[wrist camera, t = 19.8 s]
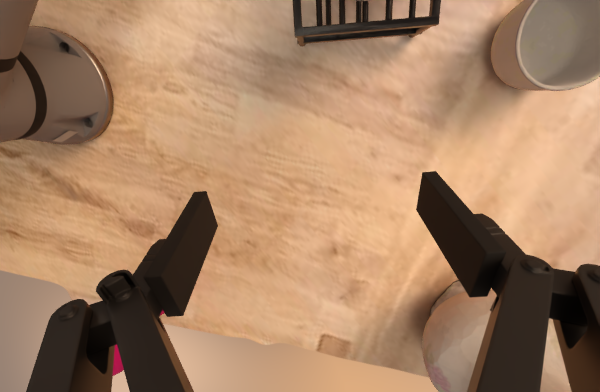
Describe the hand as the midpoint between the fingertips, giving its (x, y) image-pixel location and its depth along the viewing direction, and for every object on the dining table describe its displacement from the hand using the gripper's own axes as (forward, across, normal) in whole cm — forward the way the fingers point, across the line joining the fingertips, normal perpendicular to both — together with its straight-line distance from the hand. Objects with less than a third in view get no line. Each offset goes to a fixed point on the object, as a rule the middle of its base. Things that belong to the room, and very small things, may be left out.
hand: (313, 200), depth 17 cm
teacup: (+26, +29, +5) cm, 39 cm away
